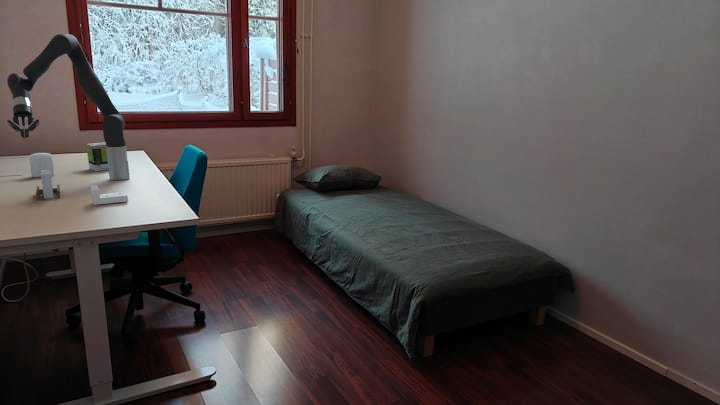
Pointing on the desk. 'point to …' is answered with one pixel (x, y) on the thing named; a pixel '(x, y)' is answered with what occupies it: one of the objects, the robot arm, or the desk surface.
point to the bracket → (107, 196)
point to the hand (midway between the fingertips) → (25, 137)
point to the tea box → (97, 156)
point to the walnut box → (41, 196)
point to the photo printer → (41, 164)
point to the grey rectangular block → (47, 184)
